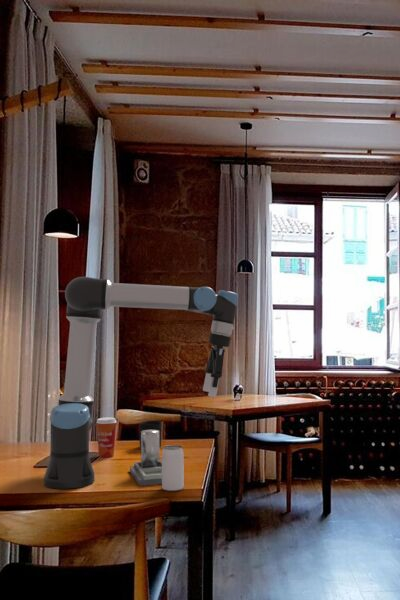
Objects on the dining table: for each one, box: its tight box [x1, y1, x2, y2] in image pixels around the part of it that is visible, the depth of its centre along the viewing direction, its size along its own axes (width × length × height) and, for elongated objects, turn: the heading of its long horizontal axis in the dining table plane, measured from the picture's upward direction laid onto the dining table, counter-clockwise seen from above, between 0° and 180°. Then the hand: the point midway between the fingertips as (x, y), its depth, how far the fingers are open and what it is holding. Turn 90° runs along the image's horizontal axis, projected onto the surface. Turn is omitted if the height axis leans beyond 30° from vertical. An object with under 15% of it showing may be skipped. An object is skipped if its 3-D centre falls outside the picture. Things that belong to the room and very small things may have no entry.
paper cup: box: [95, 417, 118, 459], centre depth 201 cm, size 8×8×14 cm
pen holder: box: [138, 420, 163, 449], centre depth 217 cm, size 9×9×10 cm
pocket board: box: [129, 460, 162, 487], centre depth 170 cm, size 12×18×3 cm, turn 16°
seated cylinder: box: [140, 430, 160, 468], centre depth 175 cm, size 6×6×12 cm
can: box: [161, 444, 185, 492], centre depth 157 cm, size 6×6×12 cm
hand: (209, 394), depth 186 cm, fingers open, 13 cm apart
